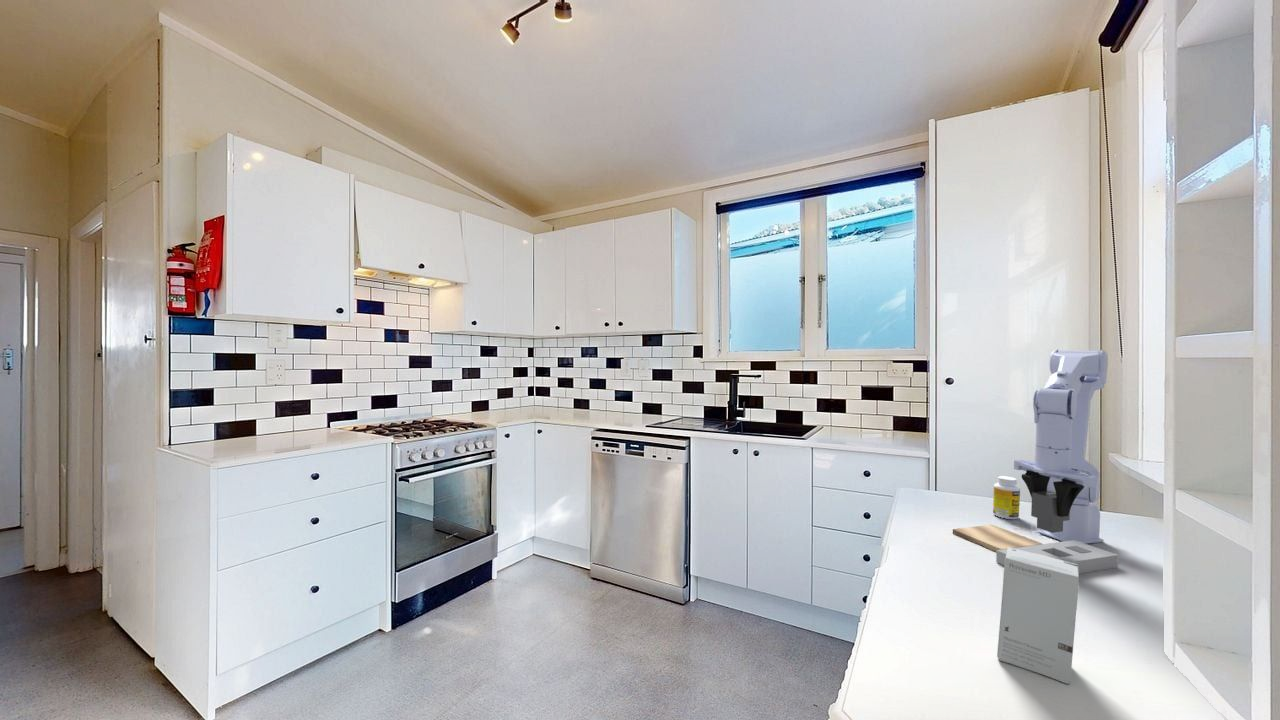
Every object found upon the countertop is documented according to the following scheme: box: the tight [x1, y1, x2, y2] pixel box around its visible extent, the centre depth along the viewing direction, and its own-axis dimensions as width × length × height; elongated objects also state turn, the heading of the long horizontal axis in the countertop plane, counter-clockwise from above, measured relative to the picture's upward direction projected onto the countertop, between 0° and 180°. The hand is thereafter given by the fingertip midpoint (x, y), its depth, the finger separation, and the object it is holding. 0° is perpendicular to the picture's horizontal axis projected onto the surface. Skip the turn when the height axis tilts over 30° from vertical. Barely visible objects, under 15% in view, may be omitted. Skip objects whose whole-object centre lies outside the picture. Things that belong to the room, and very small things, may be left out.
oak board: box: [952, 524, 1043, 553], centre depth 116 cm, size 12×12×1 cm
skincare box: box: [996, 548, 1080, 685], centre depth 71 cm, size 8×6×15 cm
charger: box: [1030, 490, 1070, 533], centre depth 104 cm, size 5×4×8 cm
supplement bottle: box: [992, 475, 1021, 520], centre depth 132 cm, size 6×6×10 cm
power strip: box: [995, 540, 1119, 574], centre depth 103 cm, size 22×8×3 cm, turn 106°
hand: (1050, 512), depth 104 cm, fingers closed on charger, 4 cm apart
